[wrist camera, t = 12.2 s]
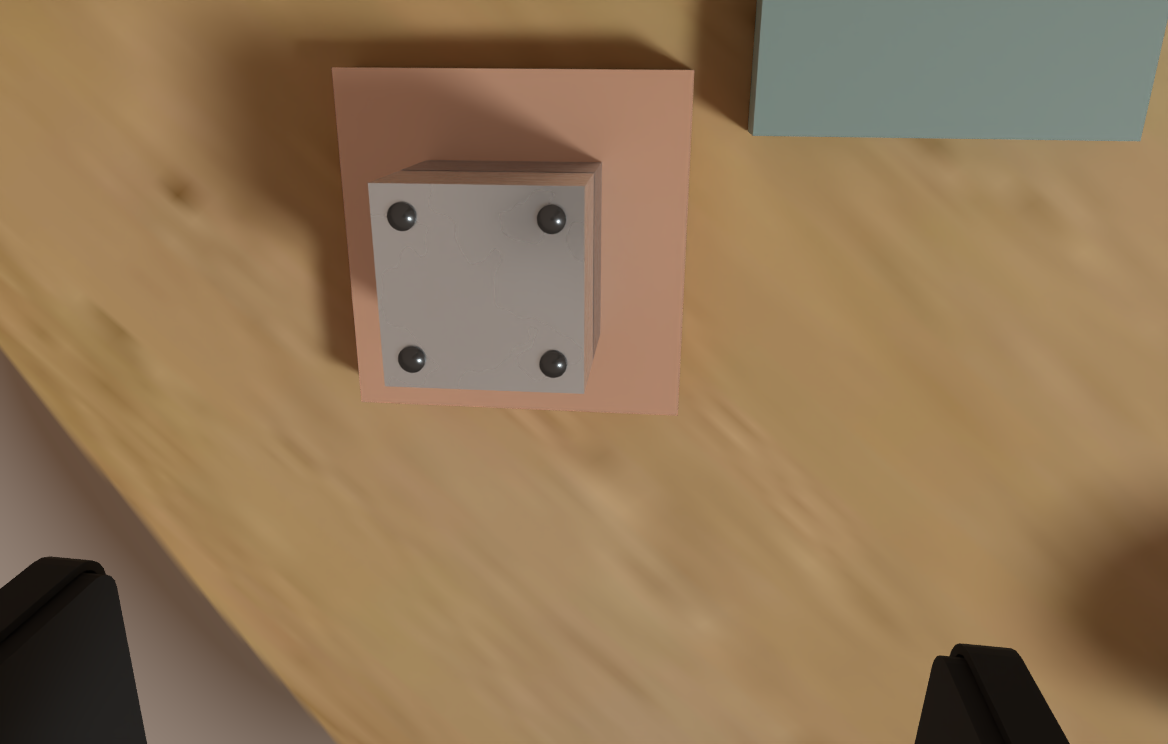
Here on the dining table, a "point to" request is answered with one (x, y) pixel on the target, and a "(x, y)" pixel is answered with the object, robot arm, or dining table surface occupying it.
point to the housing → (488, 274)
